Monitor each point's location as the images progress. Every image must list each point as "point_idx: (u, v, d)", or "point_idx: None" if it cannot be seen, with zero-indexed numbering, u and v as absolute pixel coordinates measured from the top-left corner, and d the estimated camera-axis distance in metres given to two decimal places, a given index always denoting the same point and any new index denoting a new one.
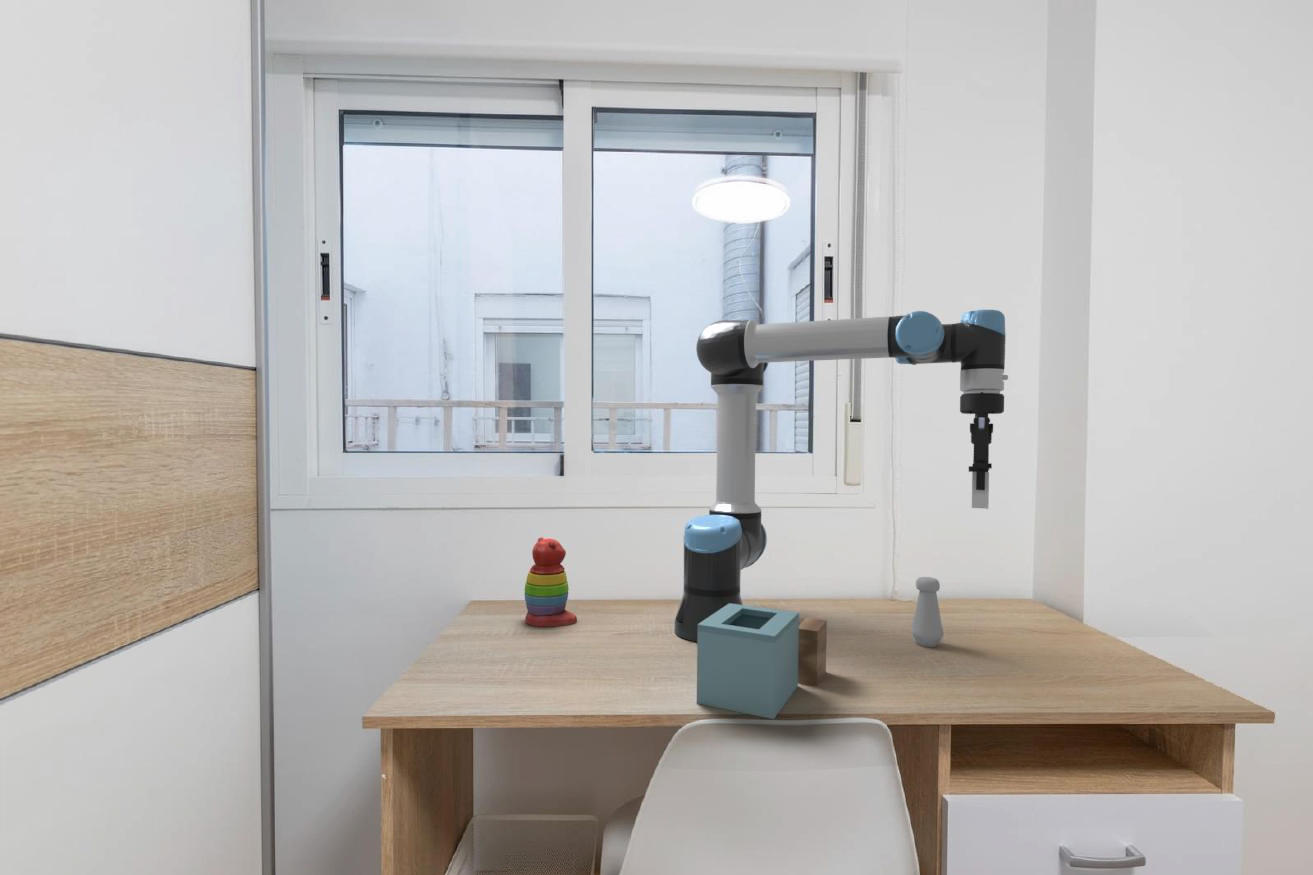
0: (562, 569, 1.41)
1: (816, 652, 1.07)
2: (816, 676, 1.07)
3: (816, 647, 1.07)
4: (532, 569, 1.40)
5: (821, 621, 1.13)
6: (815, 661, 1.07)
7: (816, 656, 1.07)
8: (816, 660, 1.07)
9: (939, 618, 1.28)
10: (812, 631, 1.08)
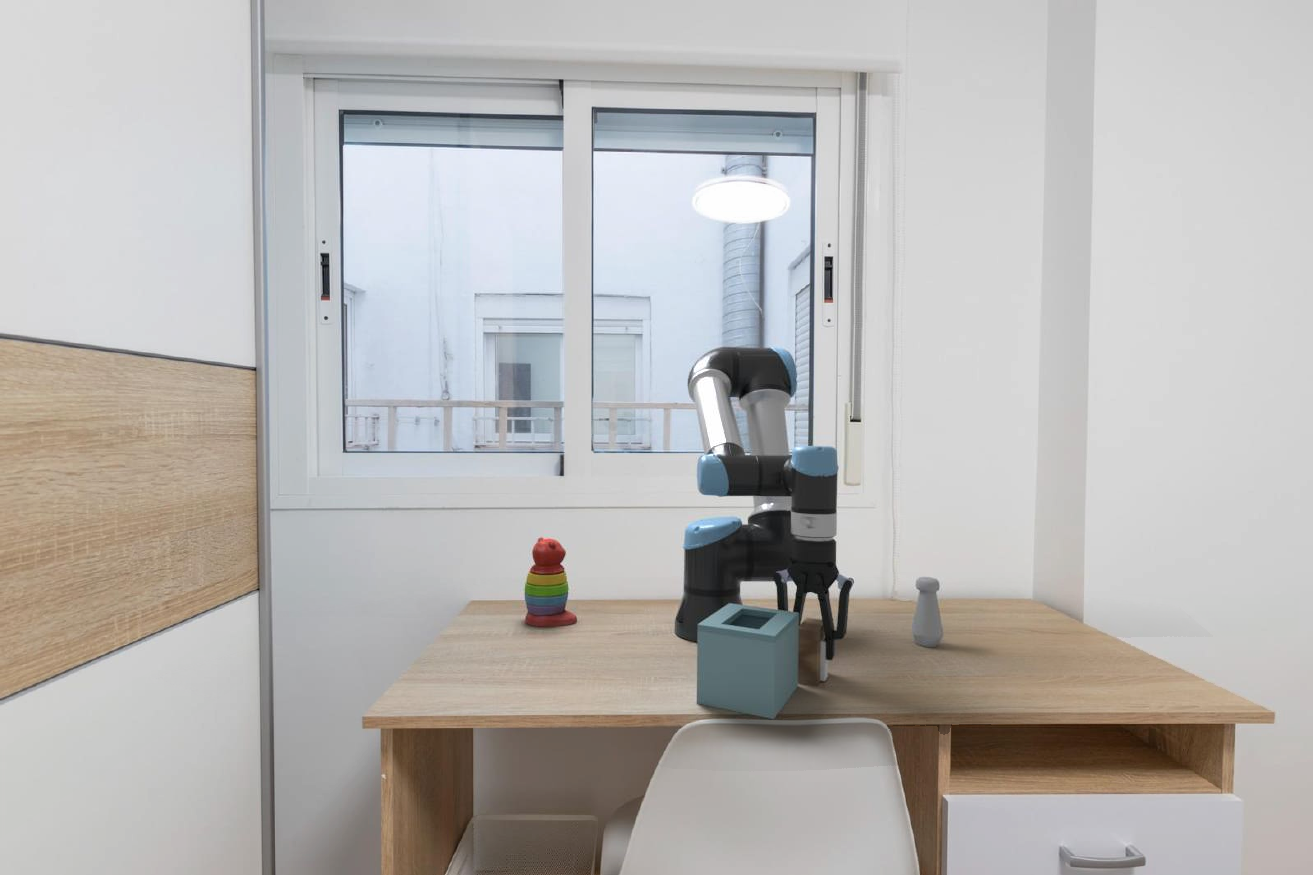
0: (562, 569, 1.41)
1: (816, 652, 1.07)
2: (816, 676, 1.07)
3: (816, 647, 1.07)
4: (532, 569, 1.40)
5: (821, 621, 1.13)
6: (815, 661, 1.07)
7: (816, 656, 1.07)
8: (816, 660, 1.07)
9: (939, 618, 1.28)
10: (812, 631, 1.08)
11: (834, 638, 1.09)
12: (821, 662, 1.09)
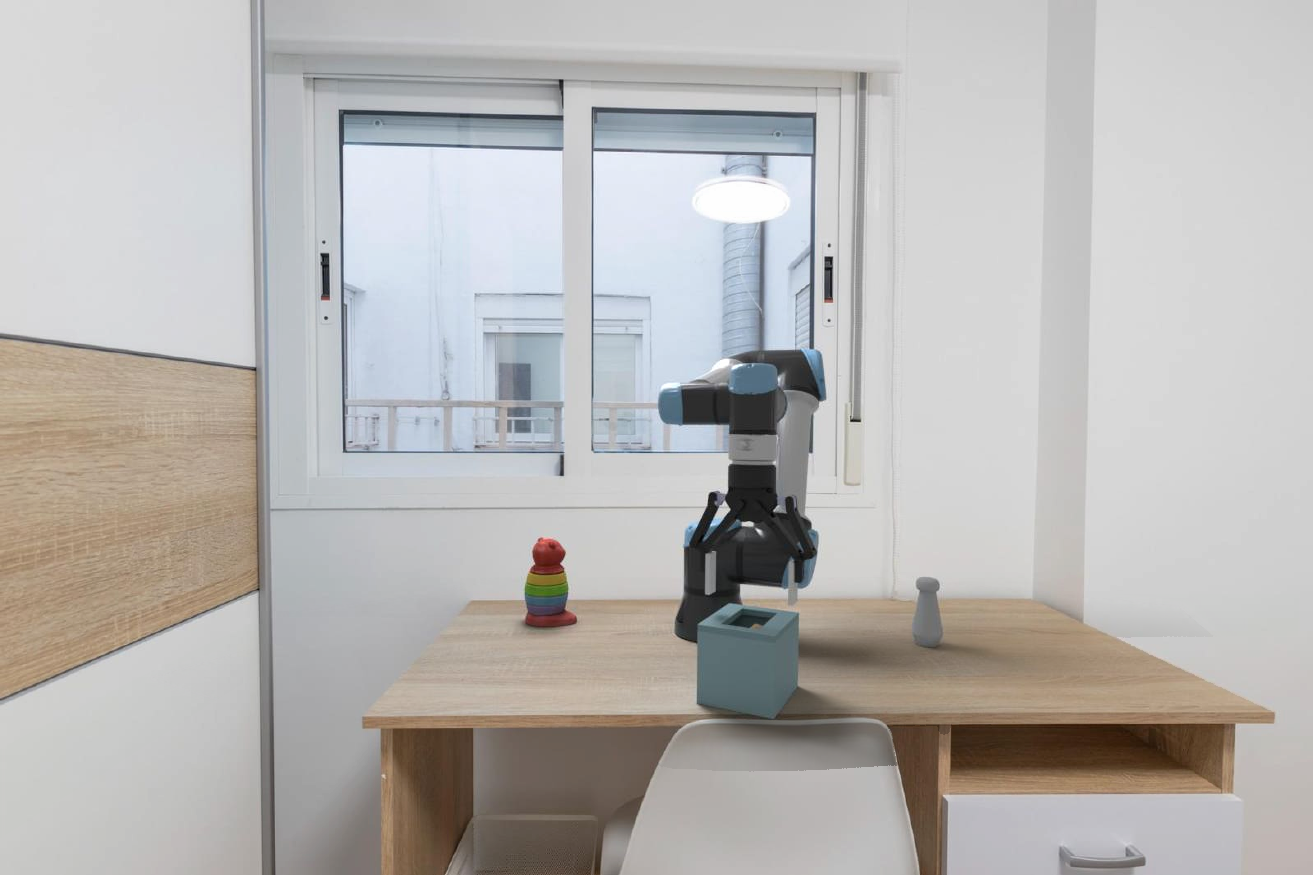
0: (562, 569, 1.41)
1: None
2: None
3: None
4: (532, 569, 1.40)
5: None
6: None
7: None
8: None
9: (939, 618, 1.28)
10: None
11: (803, 558, 0.99)
12: (789, 585, 0.99)
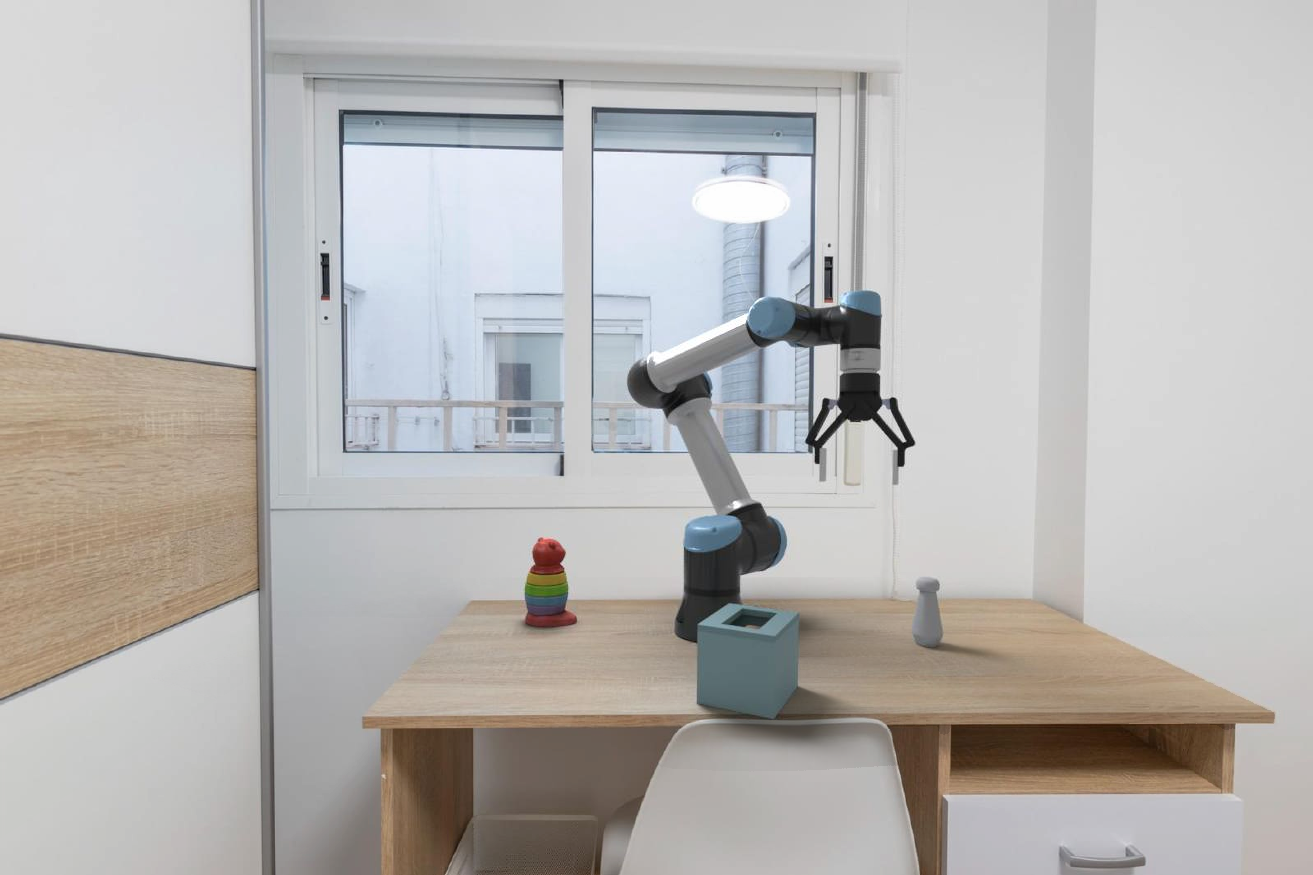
0: (562, 569, 1.41)
1: None
2: None
3: None
4: (532, 569, 1.40)
5: None
6: None
7: None
8: None
9: (939, 618, 1.28)
10: None
11: (905, 447, 1.23)
12: (893, 468, 1.23)
